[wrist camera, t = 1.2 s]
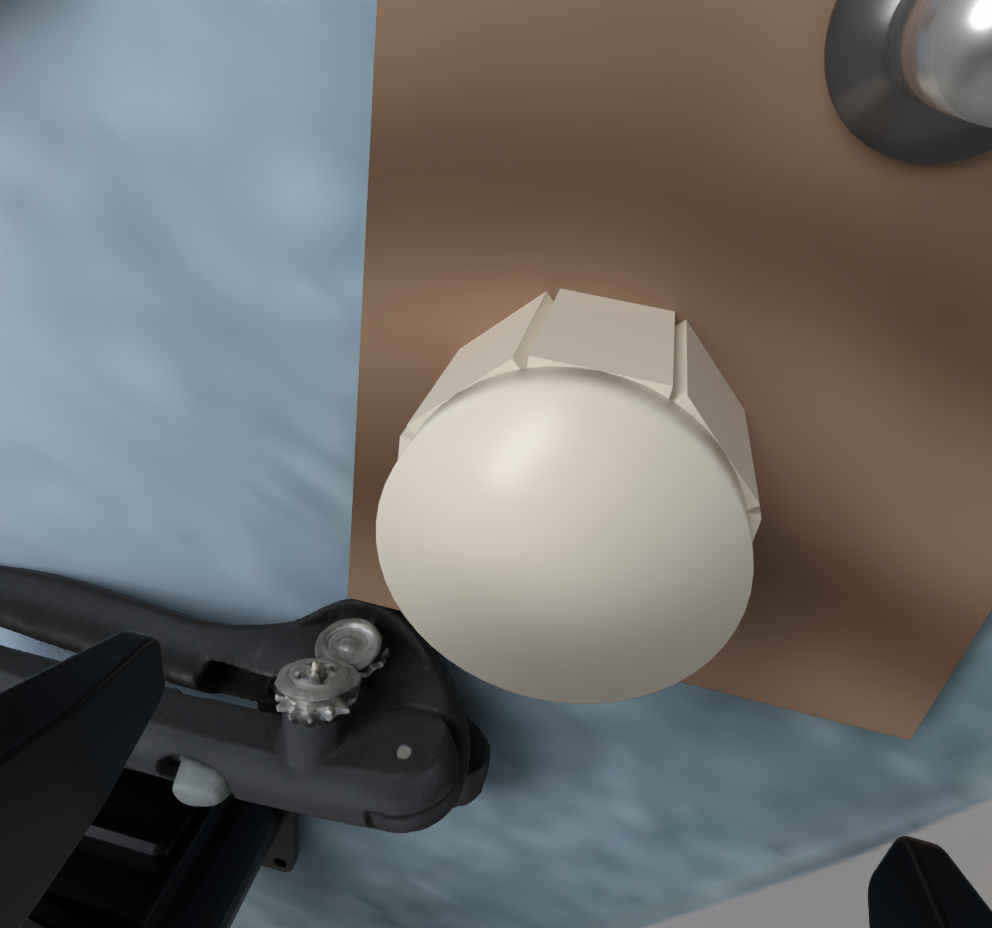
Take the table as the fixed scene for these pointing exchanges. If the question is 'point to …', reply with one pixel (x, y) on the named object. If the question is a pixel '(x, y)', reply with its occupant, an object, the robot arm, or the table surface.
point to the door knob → (913, 76)
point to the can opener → (278, 704)
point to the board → (708, 301)
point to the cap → (574, 504)
